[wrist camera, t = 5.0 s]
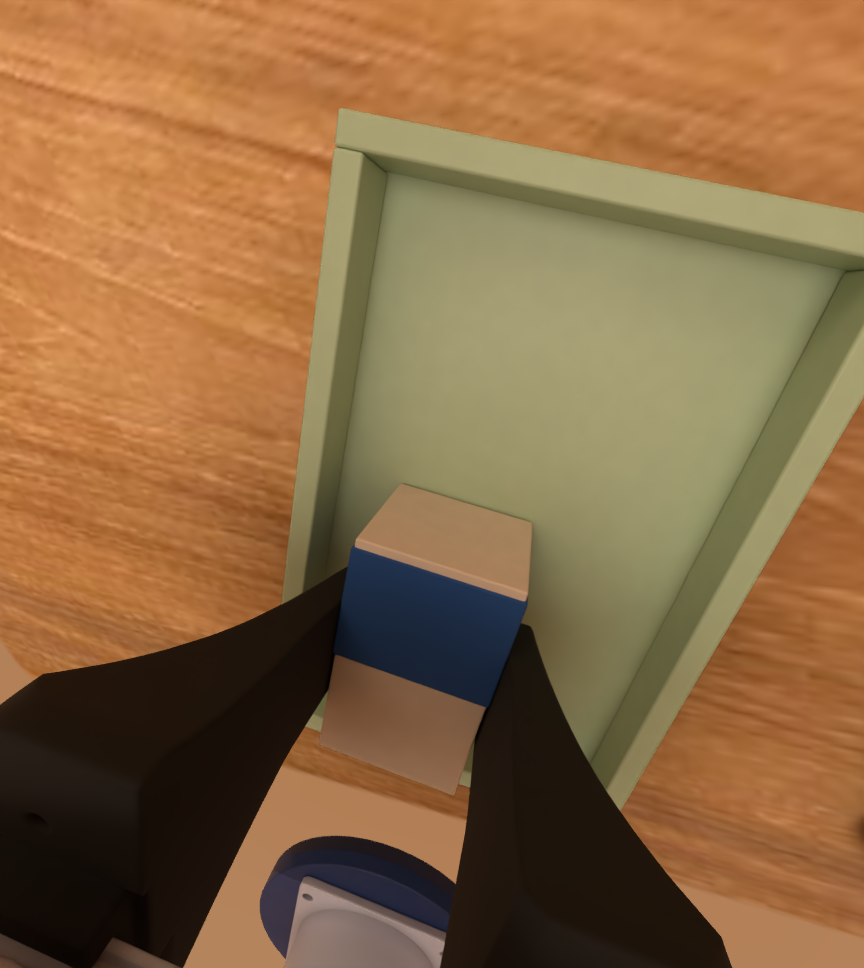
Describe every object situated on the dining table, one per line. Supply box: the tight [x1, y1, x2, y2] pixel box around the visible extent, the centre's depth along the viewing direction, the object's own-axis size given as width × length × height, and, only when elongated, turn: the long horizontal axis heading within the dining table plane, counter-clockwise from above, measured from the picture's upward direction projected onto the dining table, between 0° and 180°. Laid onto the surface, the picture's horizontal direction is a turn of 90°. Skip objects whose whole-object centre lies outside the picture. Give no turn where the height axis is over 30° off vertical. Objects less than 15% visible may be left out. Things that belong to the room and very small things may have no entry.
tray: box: [281, 108, 864, 811], centre depth 12 cm, size 15×10×2 cm
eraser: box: [319, 484, 533, 795], centre depth 12 cm, size 6×4×3 cm, turn 167°
